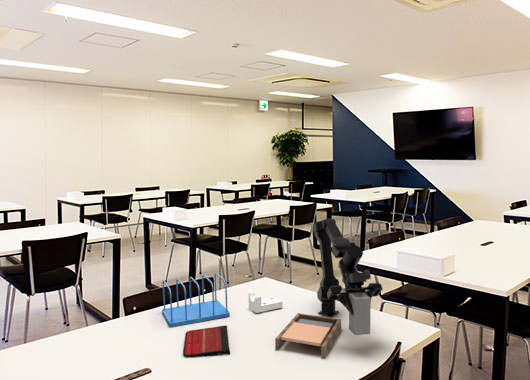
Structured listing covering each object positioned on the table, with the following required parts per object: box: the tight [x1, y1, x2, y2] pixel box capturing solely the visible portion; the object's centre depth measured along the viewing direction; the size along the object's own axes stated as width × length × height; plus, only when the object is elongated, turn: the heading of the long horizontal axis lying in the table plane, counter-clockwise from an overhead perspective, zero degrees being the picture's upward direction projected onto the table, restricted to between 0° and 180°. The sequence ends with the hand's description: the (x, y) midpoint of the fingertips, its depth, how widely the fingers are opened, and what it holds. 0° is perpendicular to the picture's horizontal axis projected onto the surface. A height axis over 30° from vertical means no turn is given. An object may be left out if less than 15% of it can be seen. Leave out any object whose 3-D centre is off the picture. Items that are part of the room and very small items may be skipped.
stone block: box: [348, 293, 372, 336], centre depth 148 cm, size 6×6×12 cm
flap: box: [281, 319, 333, 347], centre depth 157 cm, size 20×14×4 cm
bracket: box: [248, 291, 284, 314], centre depth 188 cm, size 13×7×8 cm, turn 118°
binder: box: [182, 324, 231, 358], centre depth 156 cm, size 16×2×21 cm
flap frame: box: [274, 312, 342, 359], centre depth 158 cm, size 25×18×4 cm
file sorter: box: [161, 272, 231, 328], centre depth 182 cm, size 25×17×15 cm
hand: (361, 314), depth 146 cm, fingers closed on stone block, 5 cm apart
